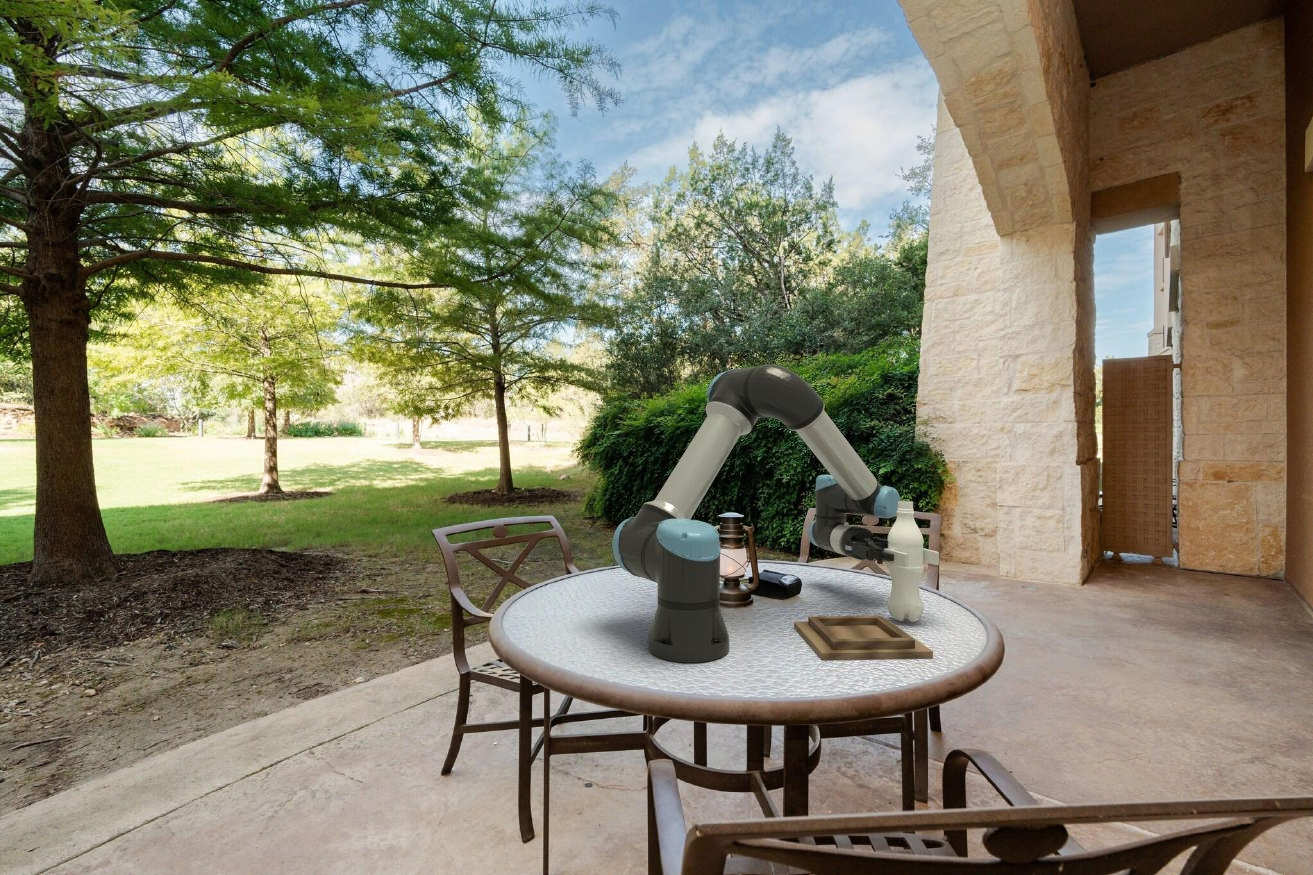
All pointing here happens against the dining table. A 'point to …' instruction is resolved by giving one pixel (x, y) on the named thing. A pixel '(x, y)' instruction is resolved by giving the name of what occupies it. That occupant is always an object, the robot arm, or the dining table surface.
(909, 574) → the water bottle
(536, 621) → the dining table surface
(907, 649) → the walnut tray
